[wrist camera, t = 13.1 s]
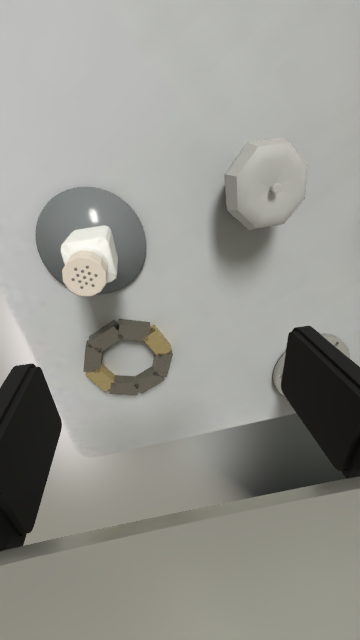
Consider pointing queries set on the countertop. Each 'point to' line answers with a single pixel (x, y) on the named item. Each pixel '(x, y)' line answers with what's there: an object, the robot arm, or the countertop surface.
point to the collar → (127, 332)
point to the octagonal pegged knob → (265, 183)
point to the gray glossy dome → (85, 212)
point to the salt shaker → (89, 260)
